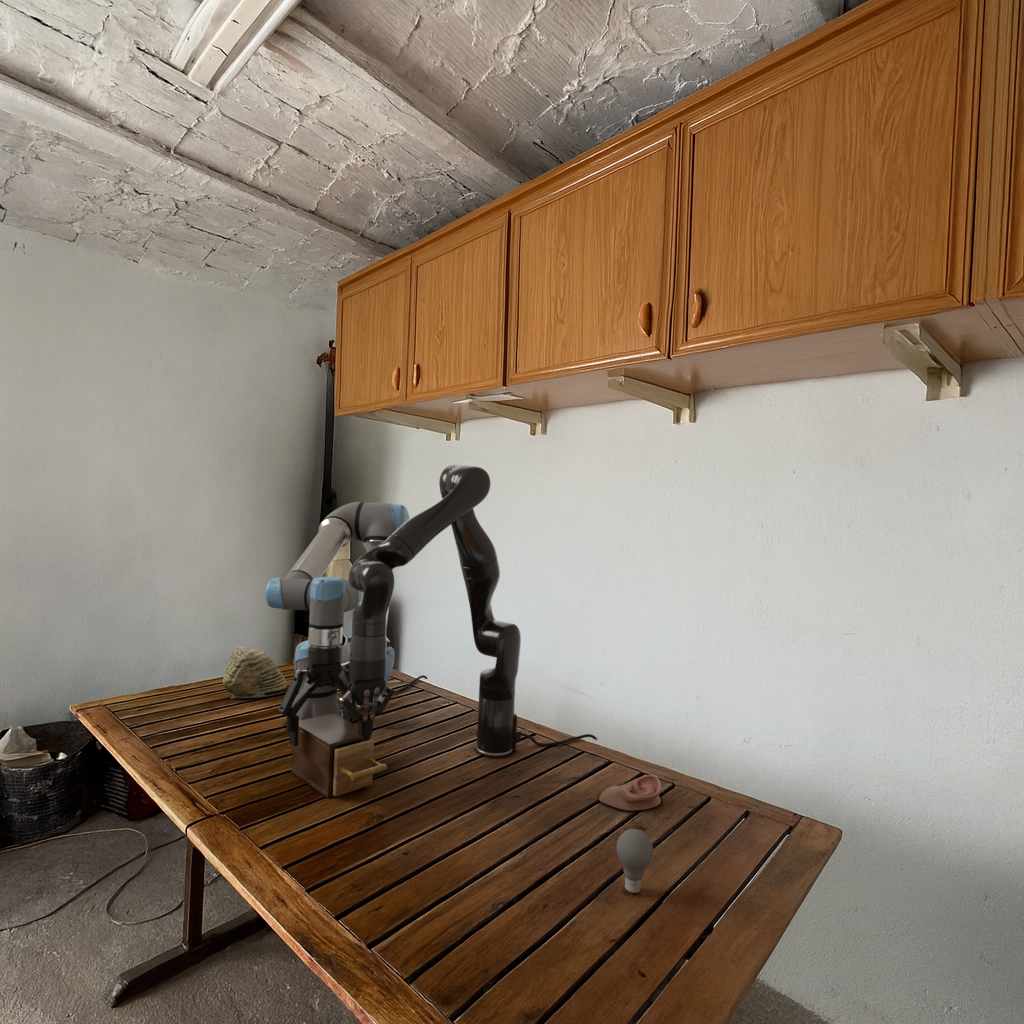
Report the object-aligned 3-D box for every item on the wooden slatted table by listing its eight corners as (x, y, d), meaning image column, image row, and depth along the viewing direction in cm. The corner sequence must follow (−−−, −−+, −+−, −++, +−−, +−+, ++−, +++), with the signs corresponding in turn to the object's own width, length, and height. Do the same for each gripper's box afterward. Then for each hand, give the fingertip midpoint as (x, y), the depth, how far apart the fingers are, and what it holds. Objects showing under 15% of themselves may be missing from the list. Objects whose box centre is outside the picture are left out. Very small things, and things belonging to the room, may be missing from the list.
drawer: (387, 794, 134) (389, 749, 134) (350, 807, 128) (352, 760, 128) (335, 761, 150) (337, 721, 149) (300, 771, 143) (302, 729, 143)
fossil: (218, 695, 195) (220, 647, 195) (278, 685, 208) (279, 640, 207) (228, 703, 189) (230, 653, 188) (289, 692, 201) (290, 645, 201)
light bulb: (610, 879, 108) (613, 822, 108) (644, 879, 109) (647, 822, 109) (619, 902, 102) (622, 840, 102) (655, 901, 103) (658, 840, 103)
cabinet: (369, 784, 141) (371, 733, 140) (327, 798, 133) (329, 744, 133) (330, 760, 152) (332, 713, 152) (291, 771, 145) (292, 722, 145)
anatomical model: (598, 788, 134) (602, 766, 145) (597, 806, 134) (601, 783, 146) (662, 796, 132) (661, 774, 143) (662, 815, 132) (660, 791, 143)
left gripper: (280, 655, 134) (276, 755, 134) (380, 641, 151) (377, 729, 152) (264, 648, 139) (260, 745, 139) (363, 636, 157) (360, 721, 157)
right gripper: (349, 663, 125) (346, 750, 126) (404, 654, 135) (401, 734, 135) (330, 655, 131) (327, 739, 131) (384, 647, 140) (381, 724, 140)
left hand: (321, 737), depth 145 cm, fingers open, 13 cm apart
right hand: (365, 736), depth 133 cm, fingers closed
